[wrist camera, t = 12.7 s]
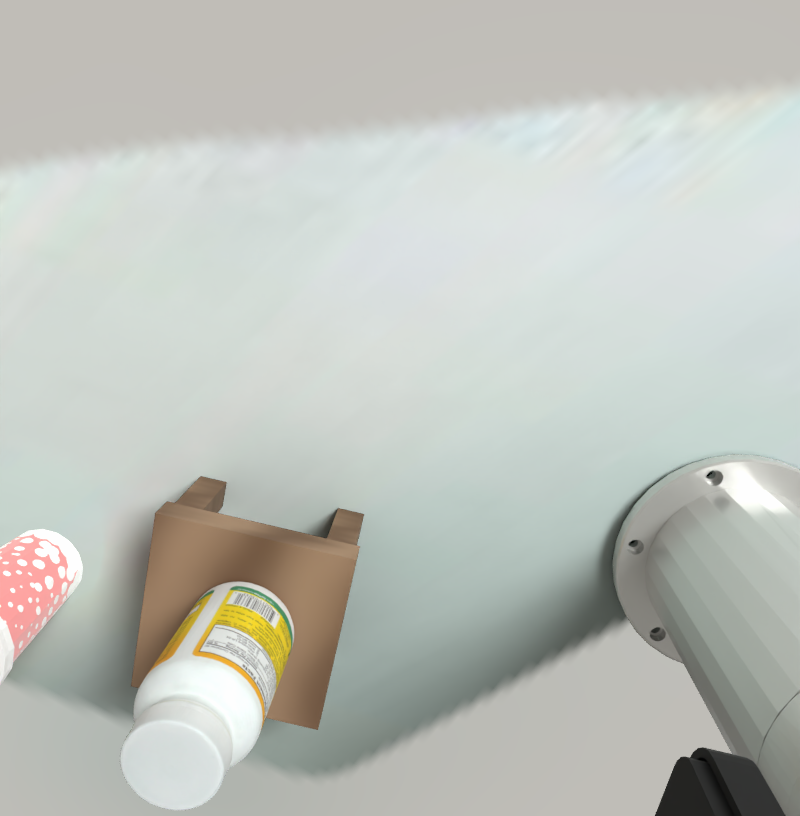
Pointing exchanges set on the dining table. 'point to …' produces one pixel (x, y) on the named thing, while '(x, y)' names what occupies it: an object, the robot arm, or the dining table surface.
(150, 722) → the supplement bottle
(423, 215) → the dining table surface
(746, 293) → the dining table surface
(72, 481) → the dining table surface
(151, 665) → the footstool
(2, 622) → the beverage cup
